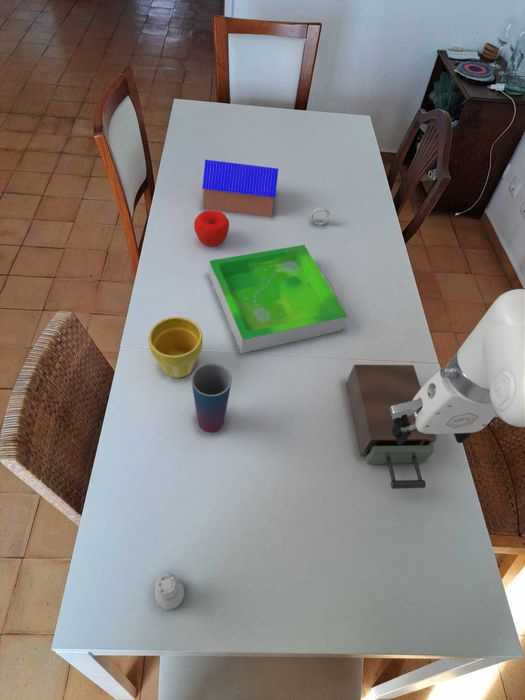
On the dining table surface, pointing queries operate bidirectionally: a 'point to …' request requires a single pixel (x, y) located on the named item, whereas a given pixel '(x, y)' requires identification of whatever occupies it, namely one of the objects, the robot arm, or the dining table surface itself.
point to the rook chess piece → (168, 591)
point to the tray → (275, 298)
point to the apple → (211, 227)
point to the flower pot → (176, 345)
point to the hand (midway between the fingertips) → (426, 435)
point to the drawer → (401, 459)
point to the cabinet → (381, 402)
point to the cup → (211, 395)
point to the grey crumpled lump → (318, 211)
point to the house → (239, 187)
